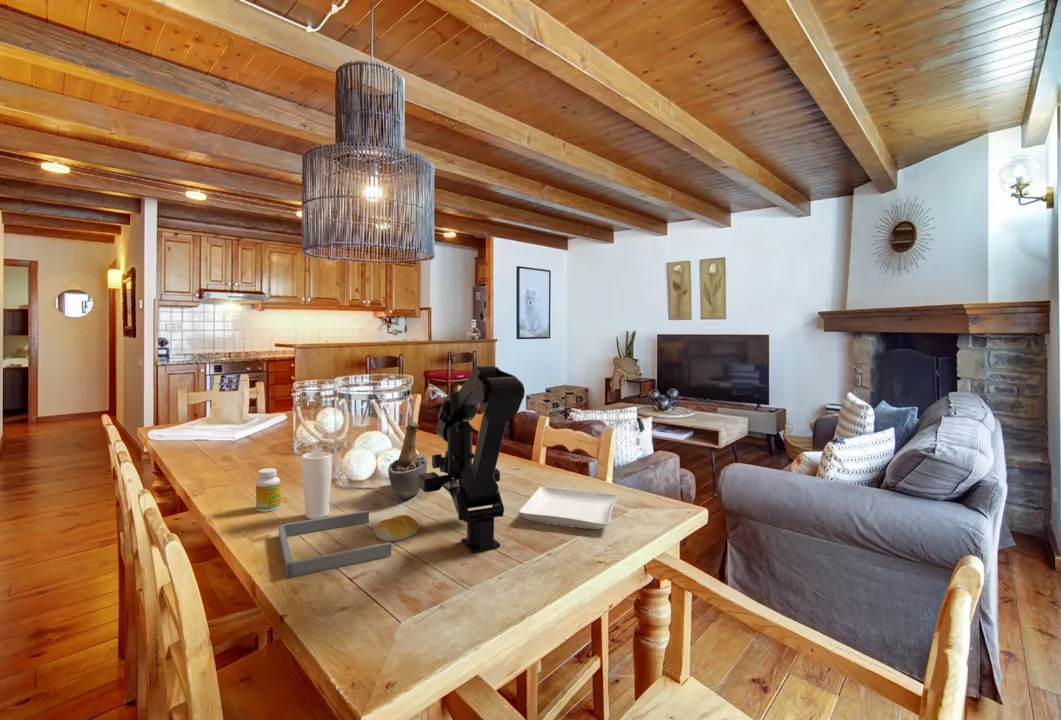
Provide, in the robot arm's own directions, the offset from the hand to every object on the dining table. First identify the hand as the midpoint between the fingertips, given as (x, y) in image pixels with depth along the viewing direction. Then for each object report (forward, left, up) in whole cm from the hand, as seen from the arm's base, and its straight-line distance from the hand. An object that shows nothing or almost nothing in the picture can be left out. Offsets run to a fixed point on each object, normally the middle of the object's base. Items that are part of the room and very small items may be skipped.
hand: (459, 513), depth 123 cm
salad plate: (-8, -26, -3) cm, 27 cm away
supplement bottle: (+30, +39, -2) cm, 49 cm away
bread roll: (0, +15, -2) cm, 15 cm away
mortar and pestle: (+25, +5, -2) cm, 26 cm away
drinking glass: (+19, +29, -2) cm, 35 cm away
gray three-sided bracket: (0, +28, -2) cm, 28 cm away
